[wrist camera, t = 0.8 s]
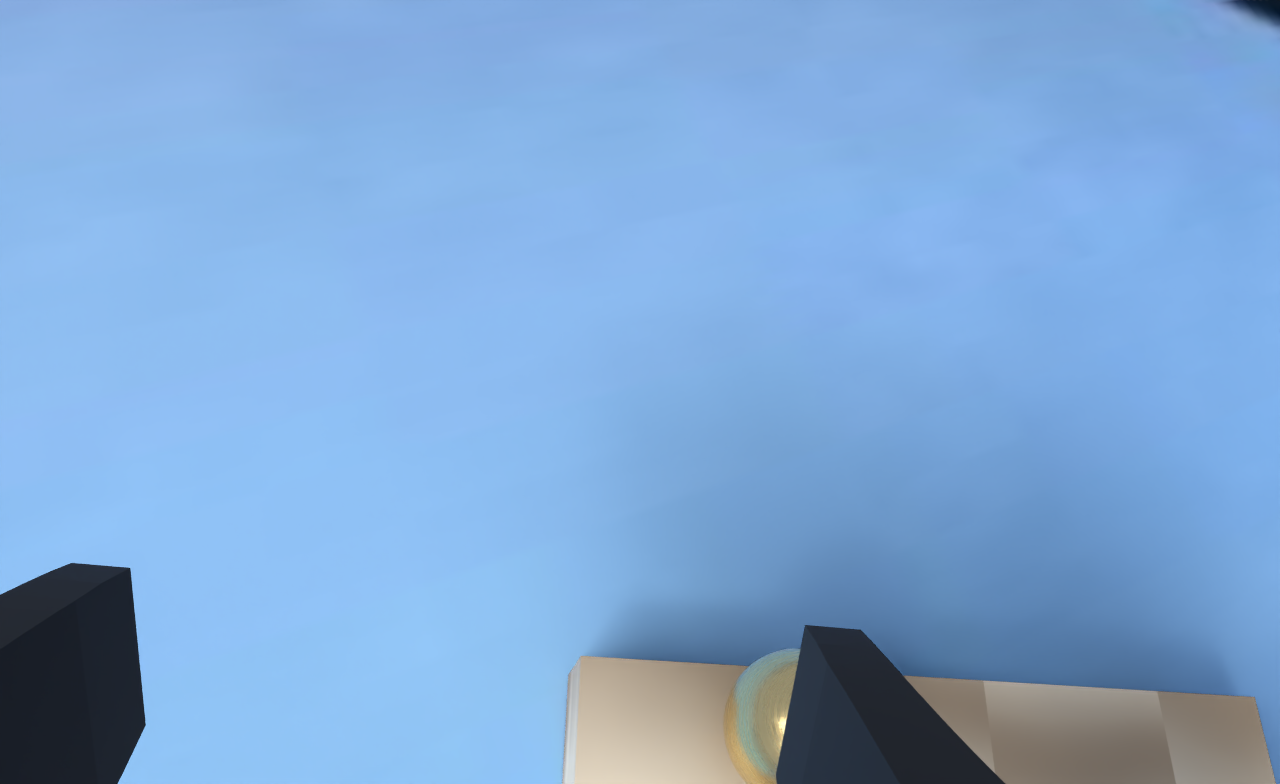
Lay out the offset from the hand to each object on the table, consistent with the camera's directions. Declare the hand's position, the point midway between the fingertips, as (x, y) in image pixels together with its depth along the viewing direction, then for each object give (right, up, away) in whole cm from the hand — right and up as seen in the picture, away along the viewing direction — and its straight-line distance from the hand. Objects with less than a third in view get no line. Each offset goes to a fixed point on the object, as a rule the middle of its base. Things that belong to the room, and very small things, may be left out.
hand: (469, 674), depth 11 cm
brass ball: (+5, -4, +10) cm, 12 cm away
